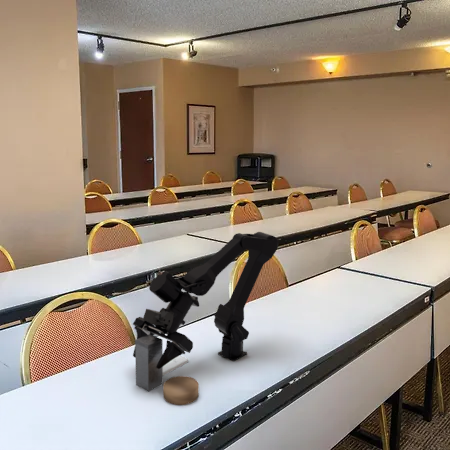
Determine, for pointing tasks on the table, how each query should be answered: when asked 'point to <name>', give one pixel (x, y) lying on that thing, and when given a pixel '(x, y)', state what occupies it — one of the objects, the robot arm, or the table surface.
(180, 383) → the stand
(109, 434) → the table surface
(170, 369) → the external hard drive
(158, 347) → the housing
